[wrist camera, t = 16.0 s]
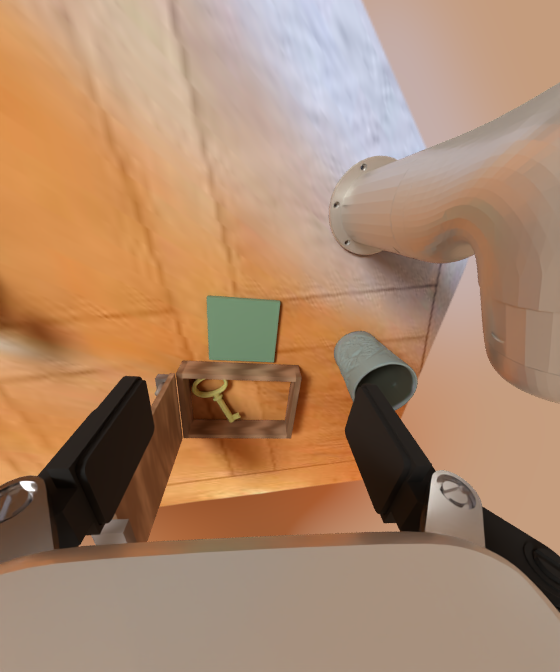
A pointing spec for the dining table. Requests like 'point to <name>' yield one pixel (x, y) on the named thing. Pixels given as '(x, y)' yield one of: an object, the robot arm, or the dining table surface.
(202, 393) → the key
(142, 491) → the case
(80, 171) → the dining table surface
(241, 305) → the pad
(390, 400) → the grey-blue cup
